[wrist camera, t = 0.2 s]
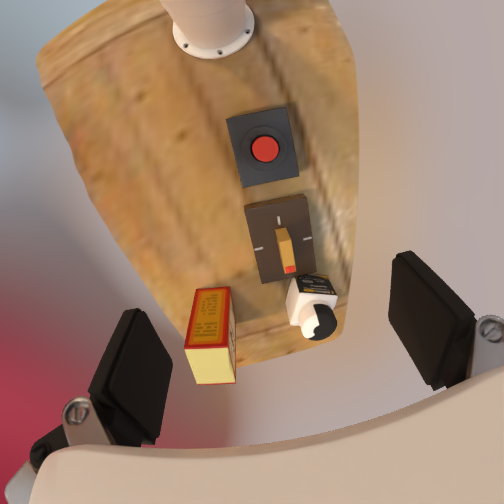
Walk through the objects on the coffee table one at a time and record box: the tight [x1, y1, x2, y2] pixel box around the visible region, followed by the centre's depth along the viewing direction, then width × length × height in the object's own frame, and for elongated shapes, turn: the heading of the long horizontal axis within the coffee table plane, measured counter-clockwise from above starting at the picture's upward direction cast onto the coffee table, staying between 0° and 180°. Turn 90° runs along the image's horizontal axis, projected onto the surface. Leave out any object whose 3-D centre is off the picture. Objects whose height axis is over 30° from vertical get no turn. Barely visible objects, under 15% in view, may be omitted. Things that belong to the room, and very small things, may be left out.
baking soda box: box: [184, 287, 236, 385], centre depth 47 cm, size 10×6×16 cm
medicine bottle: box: [285, 274, 338, 341], centre depth 48 cm, size 7×7×12 cm
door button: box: [252, 136, 279, 162], centre depth 37 cm, size 4×4×2 cm
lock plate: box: [244, 194, 316, 284], centre depth 47 cm, size 14×10×3 cm
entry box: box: [226, 107, 299, 188], centre depth 40 cm, size 11×9×4 cm
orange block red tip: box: [275, 227, 296, 274], centre depth 44 cm, size 6×2×5 cm, turn 12°
